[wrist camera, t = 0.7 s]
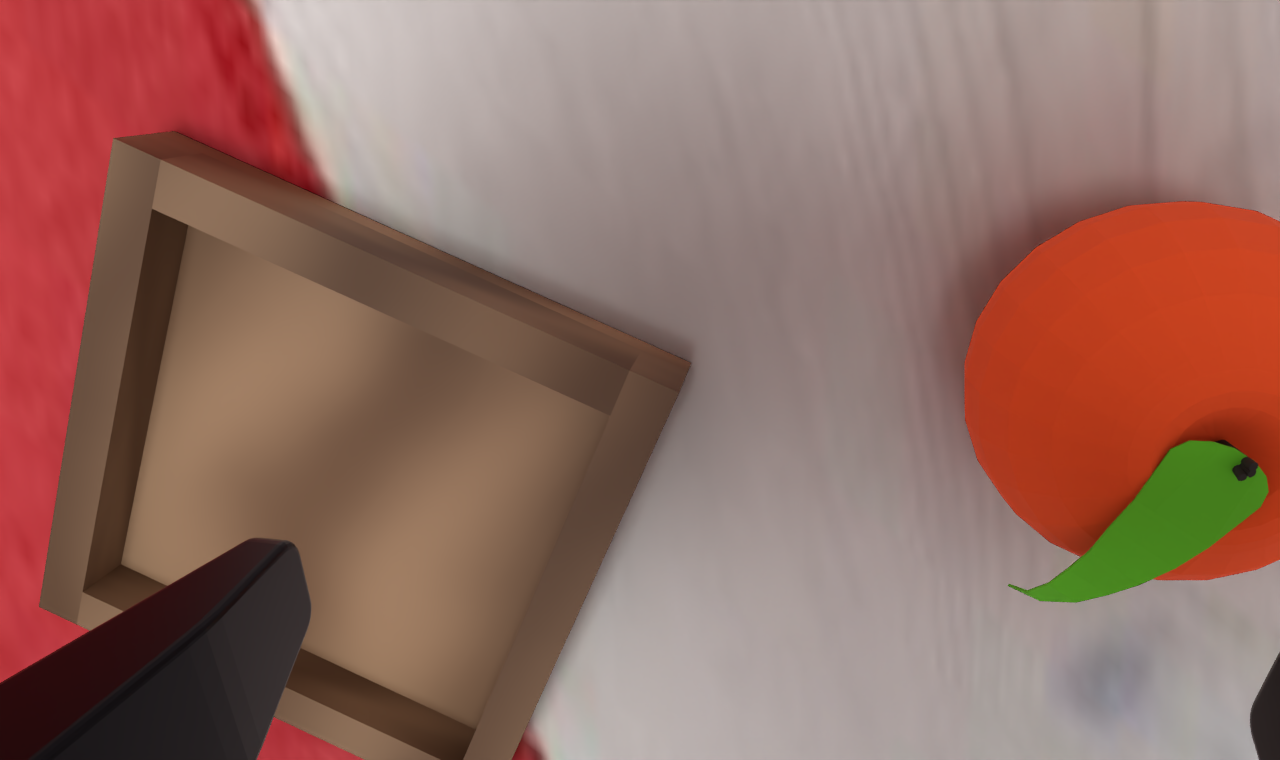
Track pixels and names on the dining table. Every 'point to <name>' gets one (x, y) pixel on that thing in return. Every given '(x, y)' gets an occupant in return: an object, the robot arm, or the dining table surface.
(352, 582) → the walnut dish
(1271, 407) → the clementine
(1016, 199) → the dining table surface
